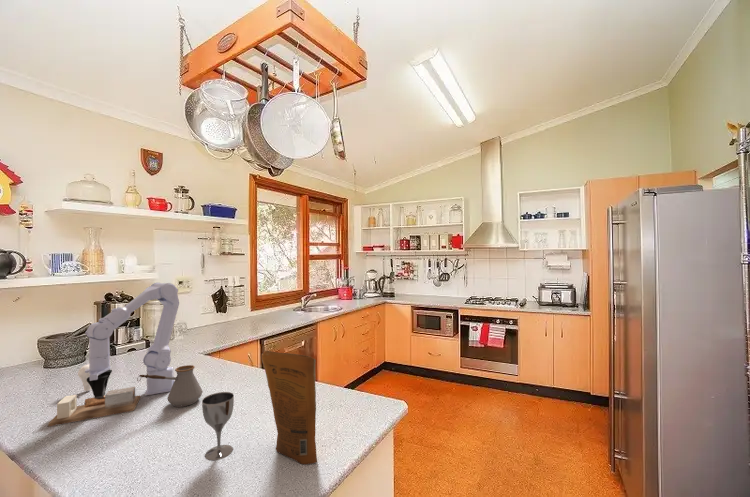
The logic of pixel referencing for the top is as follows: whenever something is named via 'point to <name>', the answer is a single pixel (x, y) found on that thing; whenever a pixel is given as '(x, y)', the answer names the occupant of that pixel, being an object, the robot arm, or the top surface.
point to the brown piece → (95, 400)
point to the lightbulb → (84, 377)
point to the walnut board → (93, 413)
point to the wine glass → (218, 420)
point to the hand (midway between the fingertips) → (99, 394)
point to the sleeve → (120, 397)
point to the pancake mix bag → (293, 403)
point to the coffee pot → (182, 386)
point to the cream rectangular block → (66, 406)
